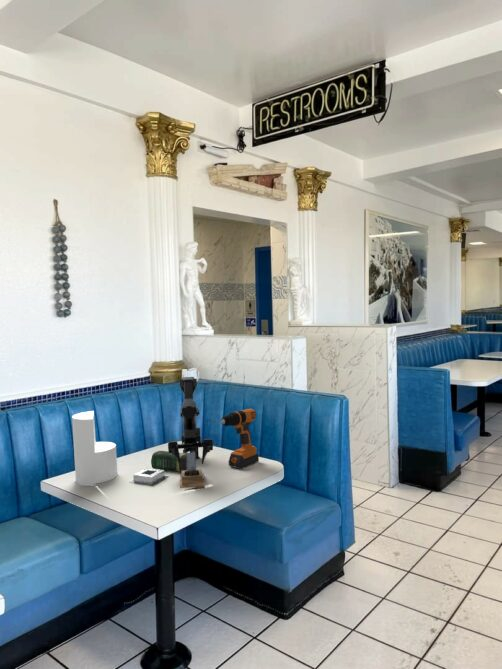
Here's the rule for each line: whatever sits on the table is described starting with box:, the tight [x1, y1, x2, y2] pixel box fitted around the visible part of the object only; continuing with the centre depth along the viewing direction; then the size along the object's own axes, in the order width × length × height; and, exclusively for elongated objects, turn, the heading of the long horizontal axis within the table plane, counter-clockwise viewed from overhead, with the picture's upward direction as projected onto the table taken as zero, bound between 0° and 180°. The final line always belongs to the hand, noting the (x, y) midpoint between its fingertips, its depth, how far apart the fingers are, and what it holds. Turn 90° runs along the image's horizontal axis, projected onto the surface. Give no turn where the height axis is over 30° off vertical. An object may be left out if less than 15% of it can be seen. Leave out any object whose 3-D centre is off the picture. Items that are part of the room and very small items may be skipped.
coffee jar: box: [150, 450, 187, 473], centre depth 230 cm, size 10×8×19 cm
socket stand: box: [128, 467, 170, 487], centre depth 216 cm, size 12×12×4 cm
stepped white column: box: [71, 410, 118, 487], centre depth 222 cm, size 17×17×28 cm
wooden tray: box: [179, 468, 206, 491], centre depth 214 cm, size 16×10×4 cm, turn 7°
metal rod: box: [186, 450, 197, 476], centre depth 213 cm, size 4×4×12 cm
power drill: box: [220, 408, 260, 469], centre depth 232 cm, size 22×7×25 cm, turn 140°
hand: (191, 464), depth 212 cm, fingers open, 9 cm apart
